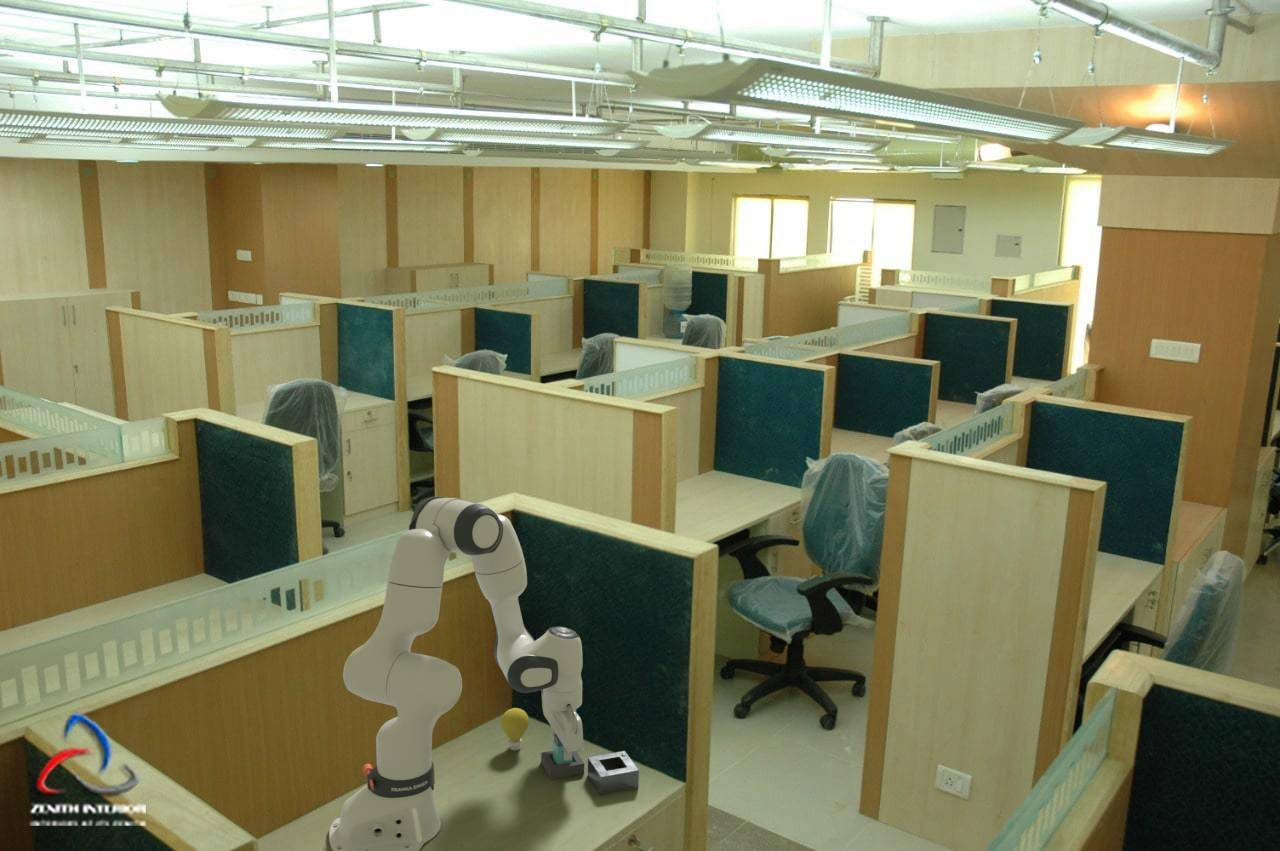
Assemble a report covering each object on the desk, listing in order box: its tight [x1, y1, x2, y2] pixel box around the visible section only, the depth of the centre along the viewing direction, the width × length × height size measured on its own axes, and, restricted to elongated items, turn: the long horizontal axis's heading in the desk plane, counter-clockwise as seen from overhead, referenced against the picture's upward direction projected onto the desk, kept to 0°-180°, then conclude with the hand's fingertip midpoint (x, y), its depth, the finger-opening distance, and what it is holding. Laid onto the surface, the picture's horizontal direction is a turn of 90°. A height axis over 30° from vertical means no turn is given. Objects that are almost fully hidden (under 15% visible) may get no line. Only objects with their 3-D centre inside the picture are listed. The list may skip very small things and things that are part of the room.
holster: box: [540, 750, 585, 780], centre depth 245 cm, size 8×8×2 cm
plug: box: [552, 734, 572, 765], centre depth 244 cm, size 4×4×8 cm
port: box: [587, 750, 640, 796], centre depth 239 cm, size 9×9×5 cm
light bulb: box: [500, 707, 530, 751], centre depth 253 cm, size 7×7×10 cm
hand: (562, 751), depth 244 cm, fingers open, 6 cm apart
